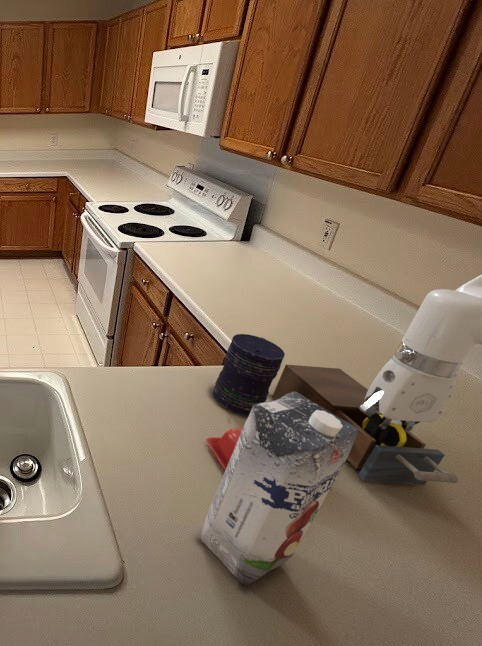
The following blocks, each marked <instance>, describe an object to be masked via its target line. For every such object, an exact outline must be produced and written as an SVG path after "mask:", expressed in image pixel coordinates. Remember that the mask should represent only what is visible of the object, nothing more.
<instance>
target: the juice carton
mask: <svg viewBox="0 0 482 646" xmlns="http://www.w3.org/2000/svg"><path fill="white" fill-rule="evenodd" d="M242 428H243V430H242V432H241V434H240V437H239V439H238V441H237V444H236V446H235V449H234V451H233V453H232V456H231V458H230V461H229V463H228V465H227V468H226V470H224V473H223V475H222V478H221V480H220V482H219V485H218V487H217V489H216V491H215V495H214V497H213V499H212V501H211V504H210V507H209V508H208V511H207V513H206V516H205V520H204V524H203V527H202V531H201V534H200V539H201V541H202V542H203V544H204V546H206V547H207V548H208V549H209V550H210V551H211V552H212V554H213V555H214V556H216V558H217V559H218V560H219V561H220V562H221V563H222V564H223V565H224V566H225V567H226V568H227V570H228V571H229V572H230V573H231V574H232V575H233V577H235V578H236V580H237V581H238V582H239V583H240V584H241V585H243V586H249V585H251V584H253V583H254V582H256V581H257V580H259V579H260V578H262V577H263V576H264V575H265V574H267V573H268V572H271V571H273V570H274V569H277V568H279V567H280V566H281V565H284V563H286V562H287V561H289V560H290V559H291V558H292V557H293V556H294V554H295V552H296V551H297V549H298V548H299V546H300V544H301V543H302V540H303V539H304V537H305V535H306V534H307V532H308V530H309V528H310V527H311V524H312V523H313V521H314V519H315V518H316V516H317V514H318V513H319V511H320V509H321V507H322V505H323V504H324V501H325V500H326V498H327V496H328V494H329V493H330V492H331V491H330V490H331V489H332V487H333V485H334V484H335V481H336V480H337V478H338V476H339V475H340V473H341V471H342V469H343V467H344V465H345V463H346V462H347V461H348V460H347V457H348V455H349V453H350V450H351V448H352V446H353V443H354V441H355V439H356V437H357V434H358V432H359V429H357V428H356V427H355V426H353V425H351V424H349V423H348V422H346V421H344V420H342V419H341V418H339V417H337V416H336V415H334V414H332V413H331V412H329V411H327V410H326V409H324V408H322V407H321V406H319V405H317V404H315V403H314V402H312V401H310V400H309V399H307V398H305V397H304V396H302V395H301V394H299V393H297V392H295V391H293V392H290V393H288V394H287V395H285V396H283V397H282V398H280V399H278V400H275V399H274V400H270V401H266V402H263V403H258V404H255V405H253V407H252V410H251V412H250V414H249V417H248V416H247V419H246V421H245V423H244V425H243V427H242Z"/></svg>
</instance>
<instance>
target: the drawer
mask: <svg viewBox="0 0 482 646" xmlns="http://www.w3.org/2000/svg"><path fill="white" fill-rule="evenodd" d="M333 414H334V415H336V416H337V417H339V418H341V419H342V420H344V421H346V422H348V423H349V424H351V425H353V426H355V427H356V428H357V429H359V432H358V434H357V437H356V439H355V441H354V443H353V446H352V448H351V450H350V453H349V455H348V457H347V460H346V461H348V462H349V463H350V464H351V465H352V466H353V467H354V468H355V469H360V471H359V473H358V477H359V478H360V479H361V480H362V481H364V482H374V483H375V482H376V483H387V484H388V483H391V484H405V485H418V486H419V485H420V486H425V485H426V484H427V483H428V482H435V483H450V484H451V483H452V484H457V483H458V482H459V478H458V476H457V475H456V474H454V473H450V472H448V471H446V470H445V469H444V468H443V467H441V466H440V463H441V462H442V461H443V460H444V457H445V456H446V454H445V453H443V452H442V451H441V450H439V449H437V448H435V449H434V448H425V447H426V446H427V444H426V443H425V442H424V441H423V440H421V439H420V438H419V437H417V436H416V435H415V434H414V433H412V432H411V431H406V430H405V431H406V439H407V440H406V442H405V444H404V446H402V447H394V446H390V445H389V444H388V443H386V442H385V441H384V440H383V442H382V443H383V444H385V445H386V446H380V445H376V446H374V444H375V442H376V440H375V439H374V438H373V437H371V436H370V435H369V434H368V433H367V432H366V431H364V430H363V429H362V424H363V421H364V420H365V419H366V418H367V417H368V416H367V415H366V414H364V413H363V412H362V411H356V410H343V409H335V411H334V413H333ZM379 415H383V414H381V413H380V414H379ZM436 471H437V472H436Z"/></svg>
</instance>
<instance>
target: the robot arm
mask: <svg viewBox="0 0 482 646" xmlns="http://www.w3.org/2000/svg"><path fill="white" fill-rule="evenodd" d="M477 344H478V345H482V274H480V275H478V276H476V277H475V278H473V279H470V280H469V281H467V282H465V283H464V284H462V285H460V286H459V287H458V288H456V289H455V290H453V289H447V288H438V289H434V290H431V291H429V292H428V293H427V294H426V295H425V297H424V299H423V301H422V303H421V304H420V306H419V307H418V310H417V312H416V313H415V316H414V317H413V318H412V321H411V323H410V324H409V326H408V328H407V330H406V332H405V334H404V335H403V337H402V339H401V341H400V343H399V345H398V346H397V348H396V350H395V352H394V353H393V356H392V357H391V358H390V359H389V360H388V361H387V362H386V363H385V364H384V366H383V367H382V368H381V370H380V371H379V372H378V373H377V375H376V376H375V378H374V380H373V381H372V382H371V384H370V386H369V387H368V392H367V394H366V396H365V403H363V404H362V405H361V406H360V407H359V410H360V411H362V412H363V413H364V414H366V415H367V416H368V419H370V420H369V422H368V423H367V425H366V427H365V429H364V431H366V432H367V433H368V434H369V435H370V436H371V437H373V438H374V439H375V440H376V442H375V444H374V446H376V445H381V443H382V442H383V440H384V441H385V442H386V443H388V444H389V445H390V446H397V444H398V442H399V441H400V439H399V433H398V431H397V430H396V428H395V427H393V426H390V425H389V424H390V422H391V421H392V420H400V421H401V422H402V425H401V426H402V428H403V429H404V431H405V430H406V431H409V432H411V431H412V430H413V428H414V426H415V425H418V424H420V423H434V422H436V421H438V420H439V419H440V417H441V416H442V414H443V413H444V411H445V409H446V407H447V405H448V403H449V401H450V400H451V397H452V395H453V392H454V390H455V388H456V383H457V380H458V375H457V373H458V371H459V370H460V369H461V367H462V366H463V364H464V362H465V360H466V359H467V357H468V355H469V354H470V352H471V350H472V349H473V348H474V345H477ZM380 413H381V414H383V416H384V417H383V418H381V416H380V415H379V414H380ZM406 431H405V433H406Z"/></svg>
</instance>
